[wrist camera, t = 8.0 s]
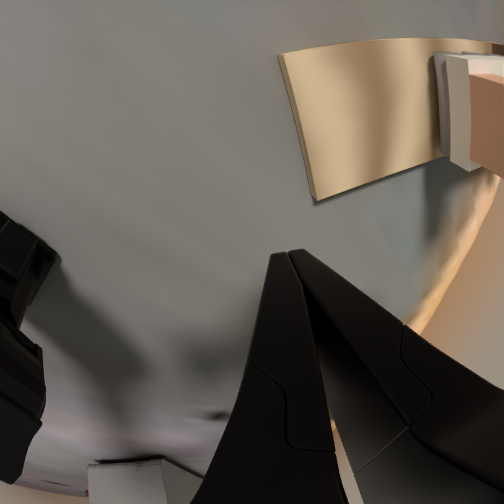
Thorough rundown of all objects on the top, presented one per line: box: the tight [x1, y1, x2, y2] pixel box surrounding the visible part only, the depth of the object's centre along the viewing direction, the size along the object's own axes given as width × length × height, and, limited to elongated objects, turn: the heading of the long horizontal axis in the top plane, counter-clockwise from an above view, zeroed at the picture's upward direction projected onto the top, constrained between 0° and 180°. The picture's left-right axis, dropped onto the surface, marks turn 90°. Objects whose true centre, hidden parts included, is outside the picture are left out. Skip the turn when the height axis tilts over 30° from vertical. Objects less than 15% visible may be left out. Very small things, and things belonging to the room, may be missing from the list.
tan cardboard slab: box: [277, 38, 504, 201], centre depth 16 cm, size 23×10×6 cm, turn 106°
